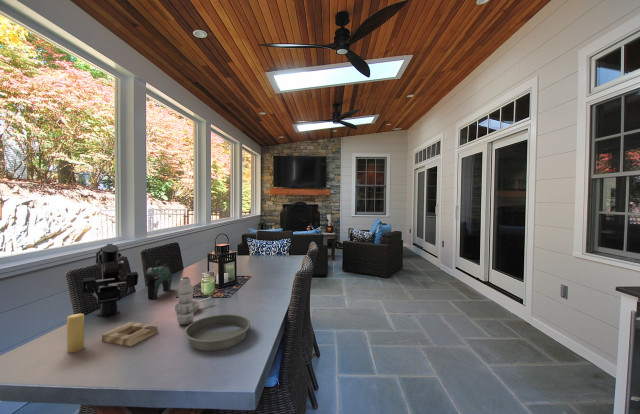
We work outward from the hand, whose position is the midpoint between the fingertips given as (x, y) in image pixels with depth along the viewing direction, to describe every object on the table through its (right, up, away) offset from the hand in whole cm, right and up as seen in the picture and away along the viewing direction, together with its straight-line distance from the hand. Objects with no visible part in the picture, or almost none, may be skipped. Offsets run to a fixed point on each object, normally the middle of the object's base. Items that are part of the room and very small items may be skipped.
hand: (112, 295), depth 113 cm
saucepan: (+21, -16, +27) cm, 37 cm away
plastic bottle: (+24, -16, +10) cm, 31 cm away
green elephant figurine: (-10, -15, +49) cm, 52 cm away
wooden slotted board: (+8, -16, -2) cm, 18 cm away
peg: (-5, -16, -12) cm, 20 cm away
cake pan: (+43, -16, -1) cm, 46 cm away
